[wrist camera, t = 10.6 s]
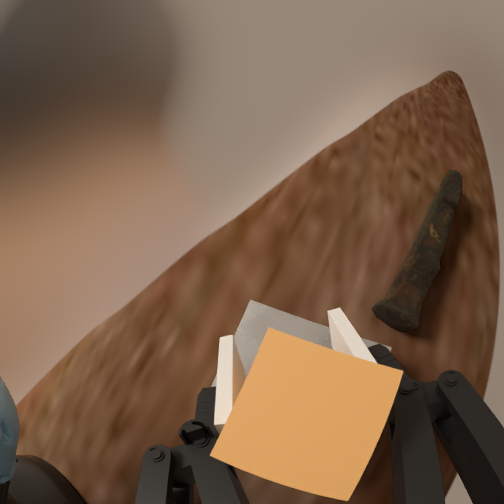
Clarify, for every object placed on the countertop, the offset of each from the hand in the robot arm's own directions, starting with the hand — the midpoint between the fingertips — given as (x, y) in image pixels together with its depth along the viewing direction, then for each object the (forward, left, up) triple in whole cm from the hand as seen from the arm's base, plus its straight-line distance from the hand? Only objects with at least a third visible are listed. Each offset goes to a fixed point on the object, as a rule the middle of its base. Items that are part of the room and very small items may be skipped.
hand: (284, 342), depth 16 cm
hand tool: (+9, +14, -7) cm, 18 cm away
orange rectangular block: (+2, -3, -5) cm, 6 cm away
